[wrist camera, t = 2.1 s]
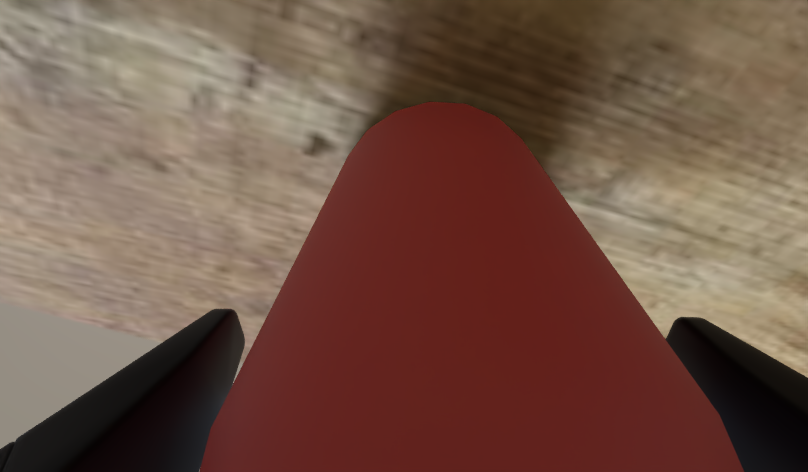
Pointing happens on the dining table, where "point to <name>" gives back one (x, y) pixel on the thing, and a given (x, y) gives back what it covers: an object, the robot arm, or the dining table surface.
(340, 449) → the beer can
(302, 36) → the dining table surface
